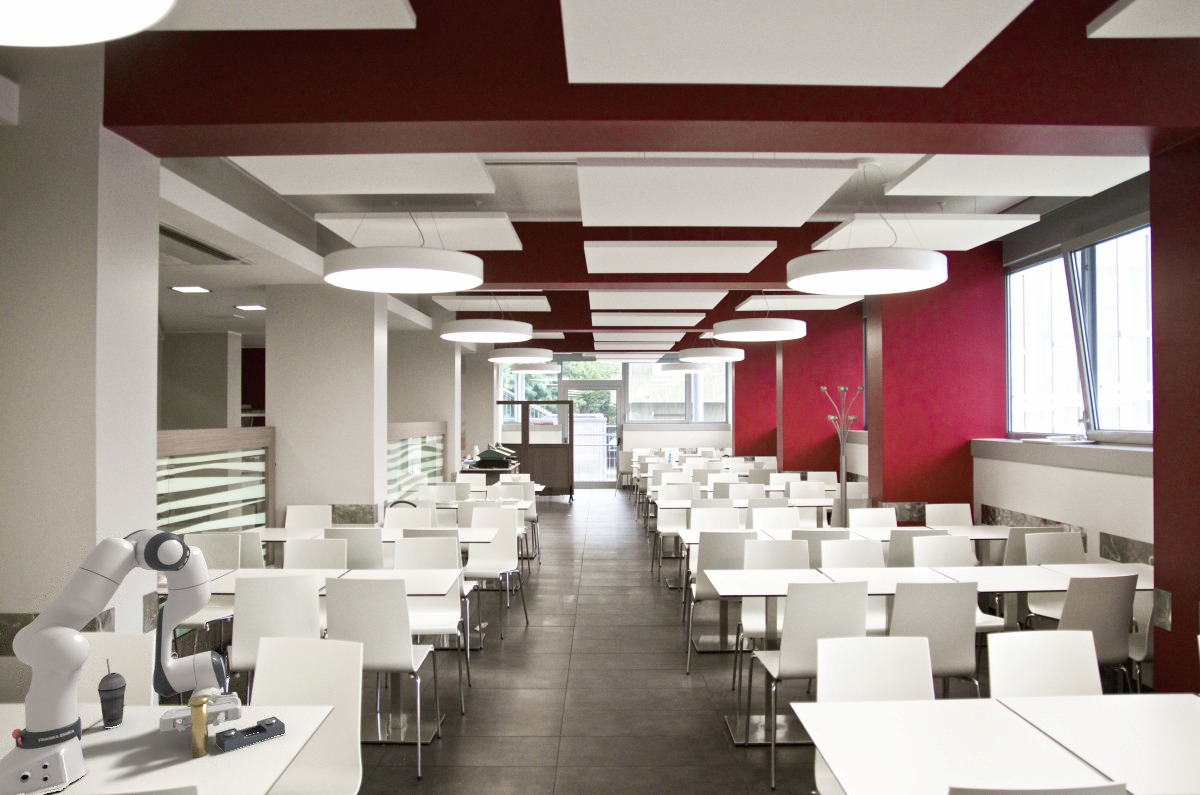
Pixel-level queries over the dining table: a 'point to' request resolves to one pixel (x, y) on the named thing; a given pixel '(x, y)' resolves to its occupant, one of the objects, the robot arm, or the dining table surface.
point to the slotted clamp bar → (236, 737)
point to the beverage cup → (112, 698)
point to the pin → (199, 725)
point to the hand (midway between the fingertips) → (198, 725)
